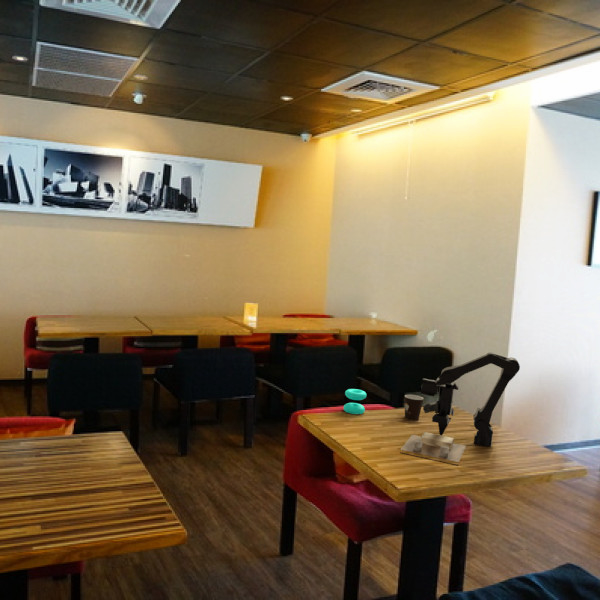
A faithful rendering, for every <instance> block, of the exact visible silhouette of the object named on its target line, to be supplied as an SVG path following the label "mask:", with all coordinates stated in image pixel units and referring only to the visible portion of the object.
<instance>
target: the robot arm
mask: <svg viewBox="0 0 600 600" xmlns="http://www.w3.org/2000/svg"><path fill="white" fill-rule="evenodd" d="M491 364H492V365H494V366H496V367H499V368H501V370H500V374H499V377H498V379H497V381H496V382H495V385H494V386H493V388H492V390H491V392H490V394H489V396H488V398H487V399H486V401H485V403H484V405H483V406H482V407H481V408H480V407H477V408H476V411H475V413H474V414H473V426H474V428H475V429H476V430H477V431H476V433H475V434H474V439H473V444H475V445H477V446H479V447H483V448H487V447H488V448H492V443H493V438H494V437H493V435H494V429H493V425H491V424H490V422H491V419H492V415H493V412H494V409H495V408H496V407H497V404H498V403H499V400H500V399H501V397H502V395H503V393H504V391H505V390H506V388H507V387H508V384H509V383H510V381H511V380H513V378H515V376H516V375H517V374H518V373H519V371H520V367H521V366H520V363H519V361H518V360H517V359H516V358H514V357H511V356H510V357H506V356H502V355H500V354H496V353H494V352H492V351H491V352H488V353H486V354H484V355H481V356H479V357H476V358H475V359H472V360H469V361H467V362H465V363H462V364H459V365H452V366H447V367H445V368H443V369H442V370H441V374H440V375H439V376H438V377H437V378H436V380H434V379H427V378H422V383H421V388H420V395H421V396H427V397H435V396H436V395H438V398H437V400H436V401H433V402H427V403H426V402H425V403H424V404H422V407H423V408H422V410H423V411H424V414H428V413H432V412H434V413H435V414H433V416H432V419H431V422H432V423H437V425H438V426H437V427H438V433H439V434H438V435H442V436H444V435H443V434H444V433H445V431H446V429H447V427H448V425H449V424H450V422H451V420H452V417H453V416H454V415H455V410H454V408H453V407H452V405H453V403H454V400H453V397H454V392H455V391H456V390H457V391H459V386H458V385H457V383H456V382H455V381H457V380H459V379H460V378H461V377H462V376H464V375H466V374H468V373H470V372H474V371H476V370H478V369H480V368H483V367H486V366H489V365H491ZM438 390H439V391H438ZM454 390H455V391H454ZM450 415H451V417H450Z"/></svg>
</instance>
